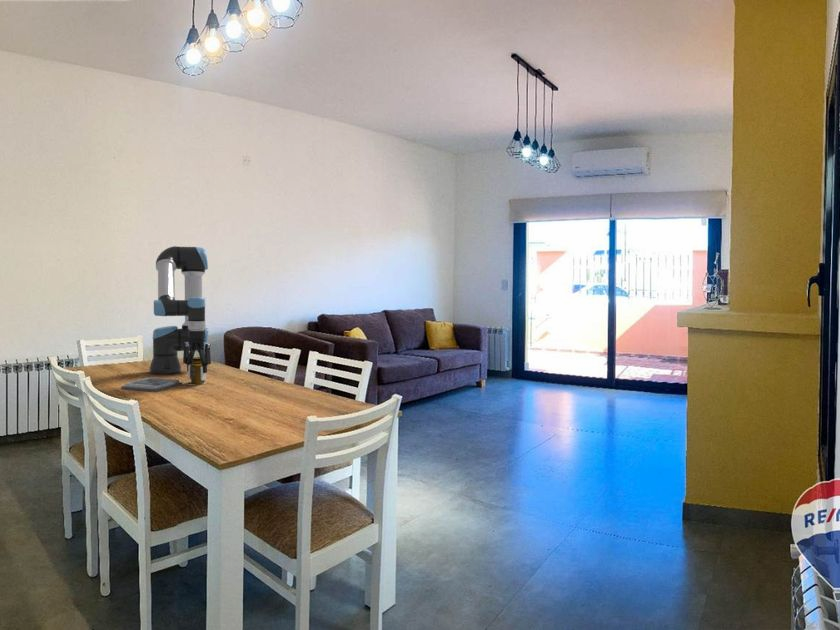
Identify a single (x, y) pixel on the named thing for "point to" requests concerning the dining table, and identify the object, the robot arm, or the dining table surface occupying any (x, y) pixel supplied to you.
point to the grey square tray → (152, 384)
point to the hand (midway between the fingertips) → (197, 379)
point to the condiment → (196, 372)
